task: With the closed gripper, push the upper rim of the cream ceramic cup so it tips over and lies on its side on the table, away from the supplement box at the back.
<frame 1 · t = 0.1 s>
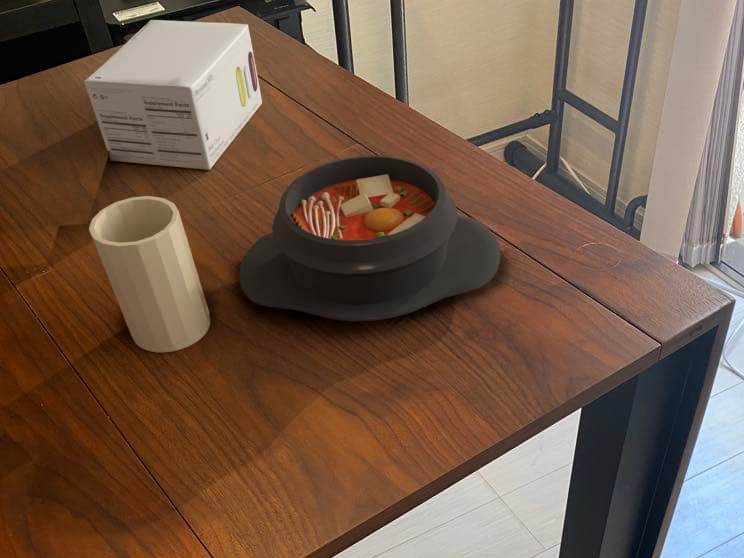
supplement box: (190, 133, 102), on the table
cup: (171, 327, 79), on the table
casserole: (371, 278, 82), on the table
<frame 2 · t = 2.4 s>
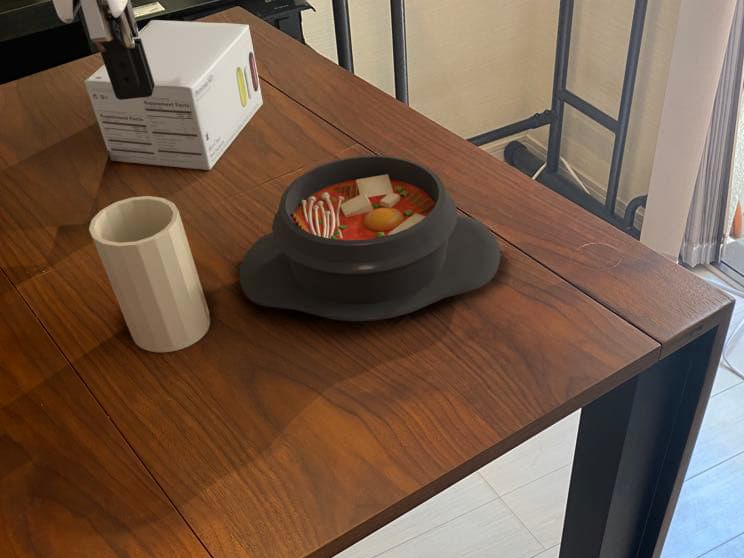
hand: (136, 93, 72), 16 cm above the table, tool pointing down, fingers closed
nothing on the table moved.
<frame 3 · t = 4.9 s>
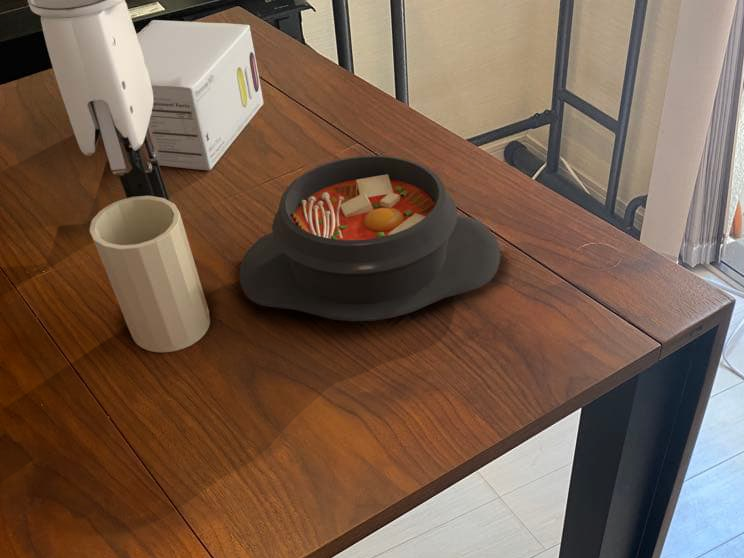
hand: (152, 209, 75), 9 cm above the table, tool pointing down, fingers closed
cup: (170, 325, 78), on the table, touching gripper
everything else where it was.
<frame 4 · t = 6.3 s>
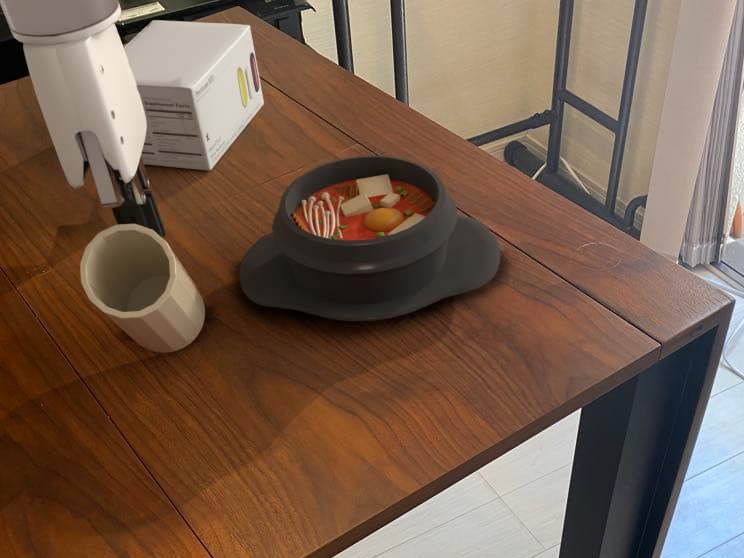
hand: (146, 241, 71), 9 cm above the table, tool pointing down, fingers closed
cup: (164, 312, 76), point 2 cm above the table, tilted 37°, touching gripper
everything else where it was.
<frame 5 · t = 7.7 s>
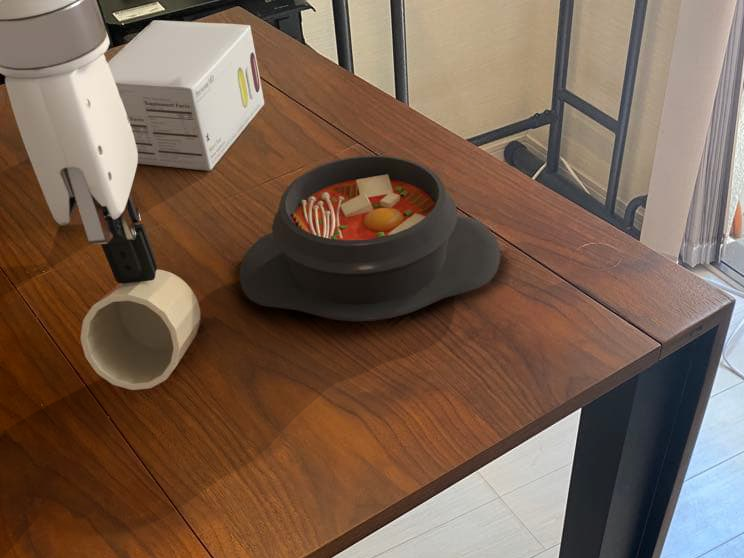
hand: (137, 275, 68), 9 cm above the table, tool pointing down, fingers closed
cup: (158, 311, 75), point 3 cm above the table, tilted 66°, touching gripper
everything else where it was.
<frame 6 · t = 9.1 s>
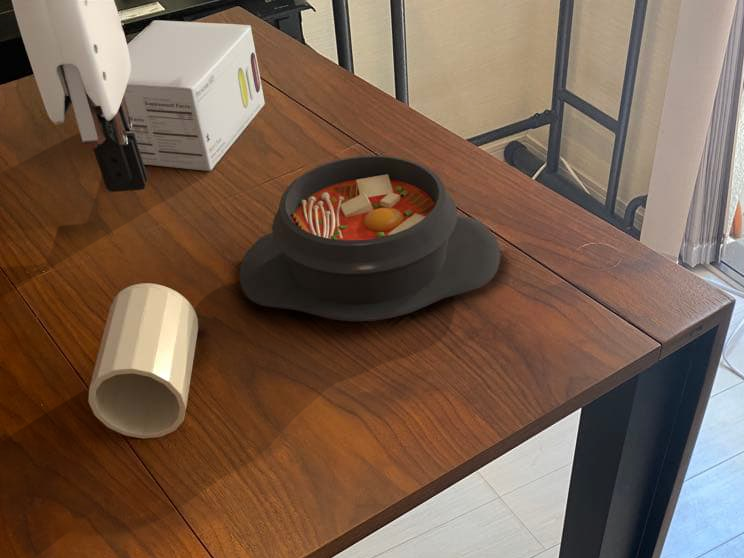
hand: (128, 185, 71), 12 cm above the table, tool pointing down, fingers closed
cup: (155, 319, 73), point 4 cm above the table, tilted 90°
everything else where it was.
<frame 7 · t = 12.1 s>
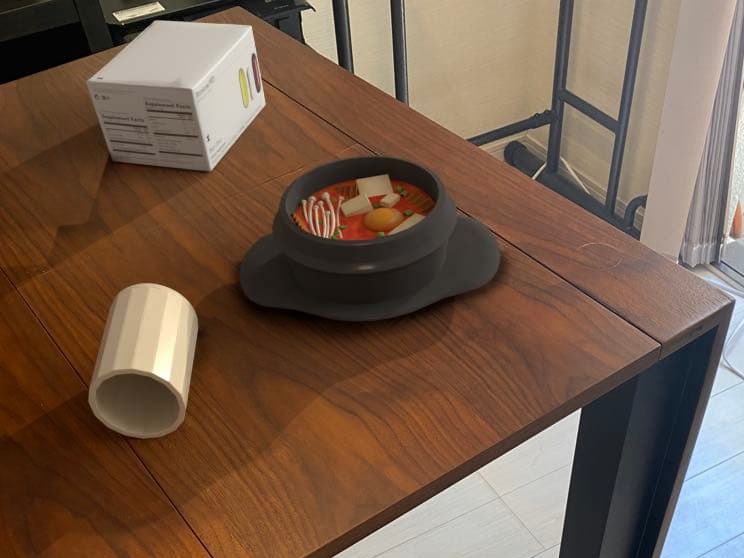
nothing on the table moved.
at the end: cup tilted 90° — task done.
